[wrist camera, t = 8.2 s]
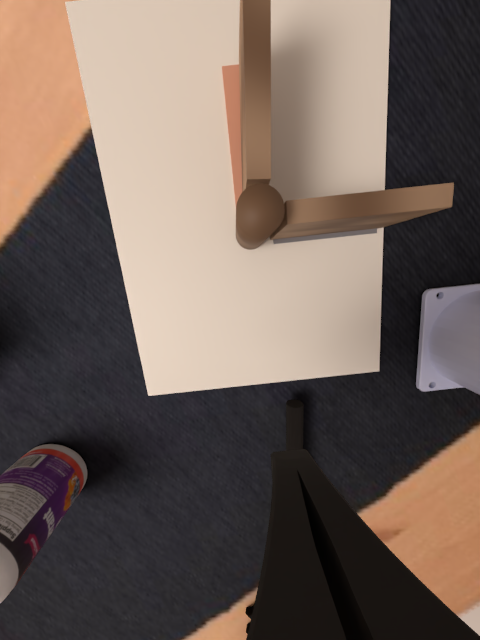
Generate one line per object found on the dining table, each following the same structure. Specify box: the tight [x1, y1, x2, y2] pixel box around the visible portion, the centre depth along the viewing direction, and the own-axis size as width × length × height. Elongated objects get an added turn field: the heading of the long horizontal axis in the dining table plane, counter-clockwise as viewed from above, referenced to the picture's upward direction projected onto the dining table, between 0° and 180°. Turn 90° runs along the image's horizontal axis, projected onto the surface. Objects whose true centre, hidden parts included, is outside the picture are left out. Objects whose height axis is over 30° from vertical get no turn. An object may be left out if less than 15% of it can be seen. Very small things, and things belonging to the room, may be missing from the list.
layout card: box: [65, 0, 390, 396], centre depth 15 cm, size 18×24×1 cm
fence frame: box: [236, 183, 454, 250], centre depth 12 cm, size 10×2×6 cm, turn 96°
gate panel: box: [239, 0, 271, 192], centre depth 11 cm, size 8×1×5 cm, turn 2°
